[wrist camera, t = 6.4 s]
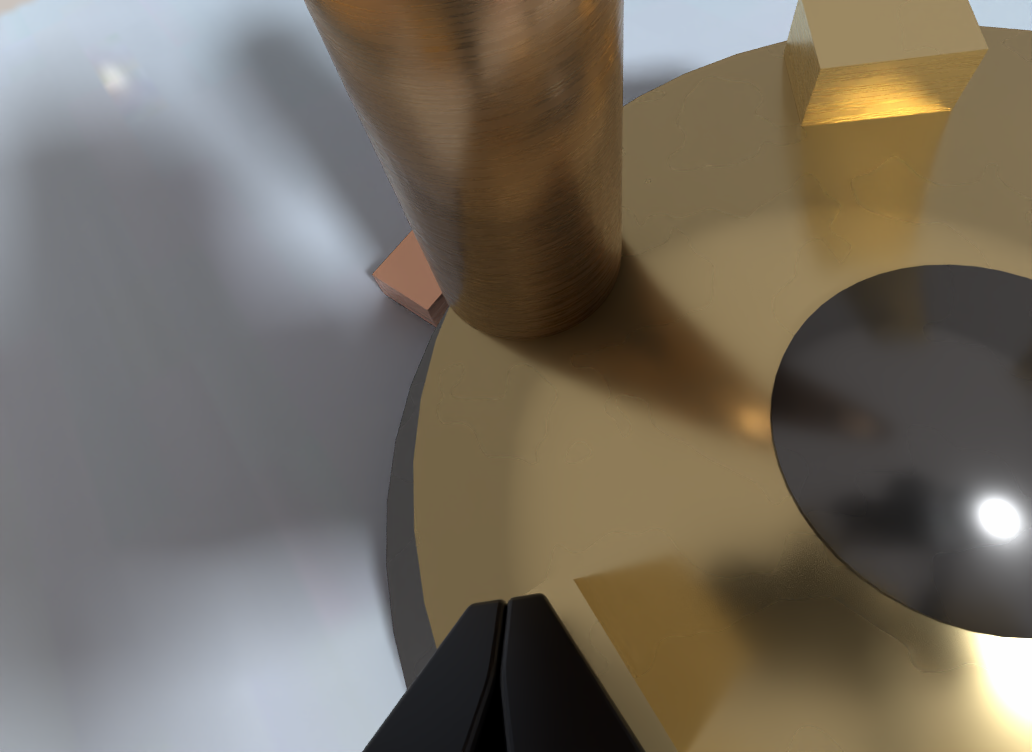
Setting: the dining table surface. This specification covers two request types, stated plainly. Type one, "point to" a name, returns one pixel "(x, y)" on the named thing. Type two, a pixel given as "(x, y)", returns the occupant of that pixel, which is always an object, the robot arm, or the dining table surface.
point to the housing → (409, 460)
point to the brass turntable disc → (728, 358)
